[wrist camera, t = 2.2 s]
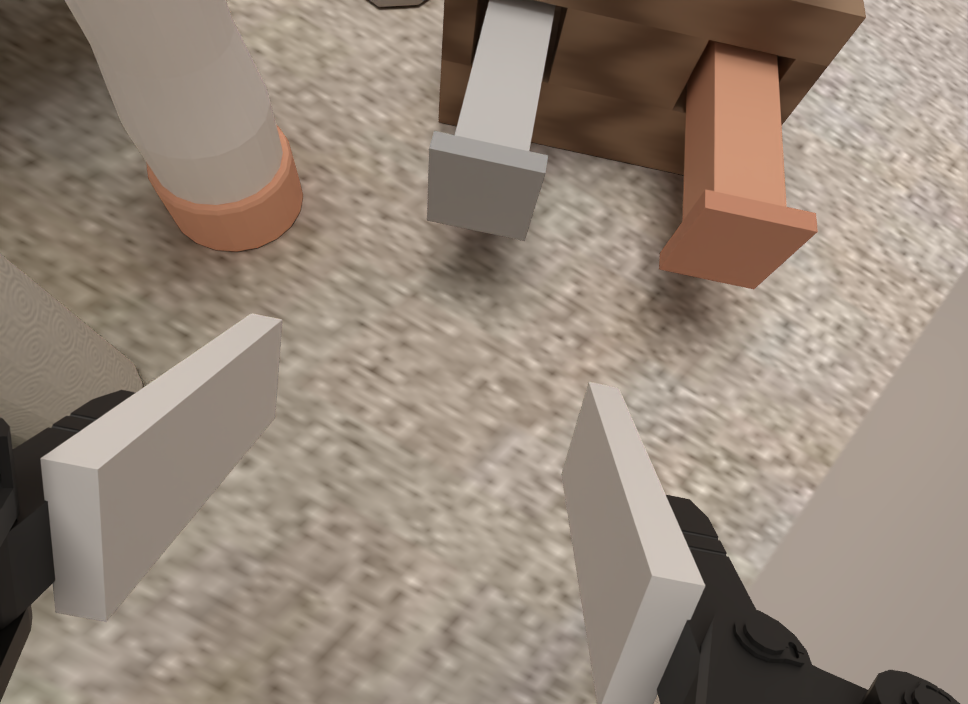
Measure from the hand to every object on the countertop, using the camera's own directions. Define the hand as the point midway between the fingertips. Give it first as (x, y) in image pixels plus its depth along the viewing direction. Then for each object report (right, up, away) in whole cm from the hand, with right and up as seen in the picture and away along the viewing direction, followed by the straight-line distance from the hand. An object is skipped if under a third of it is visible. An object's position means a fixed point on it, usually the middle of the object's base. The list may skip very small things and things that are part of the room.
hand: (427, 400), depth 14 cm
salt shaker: (-13, +10, +19) cm, 25 cm away
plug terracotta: (+14, +11, +18) cm, 25 cm away
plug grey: (+2, +14, +17) cm, 22 cm away
